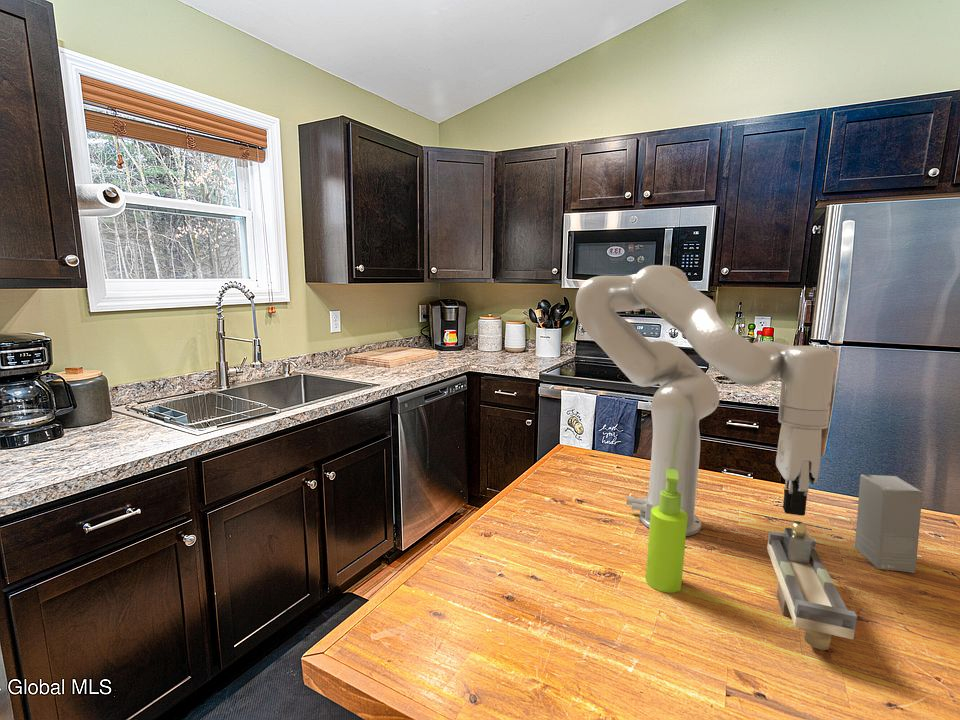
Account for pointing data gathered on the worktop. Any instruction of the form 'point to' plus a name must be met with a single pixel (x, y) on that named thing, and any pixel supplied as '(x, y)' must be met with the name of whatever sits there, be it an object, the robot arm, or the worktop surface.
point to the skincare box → (888, 522)
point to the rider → (797, 543)
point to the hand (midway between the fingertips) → (793, 512)
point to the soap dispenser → (667, 539)
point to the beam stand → (810, 596)
